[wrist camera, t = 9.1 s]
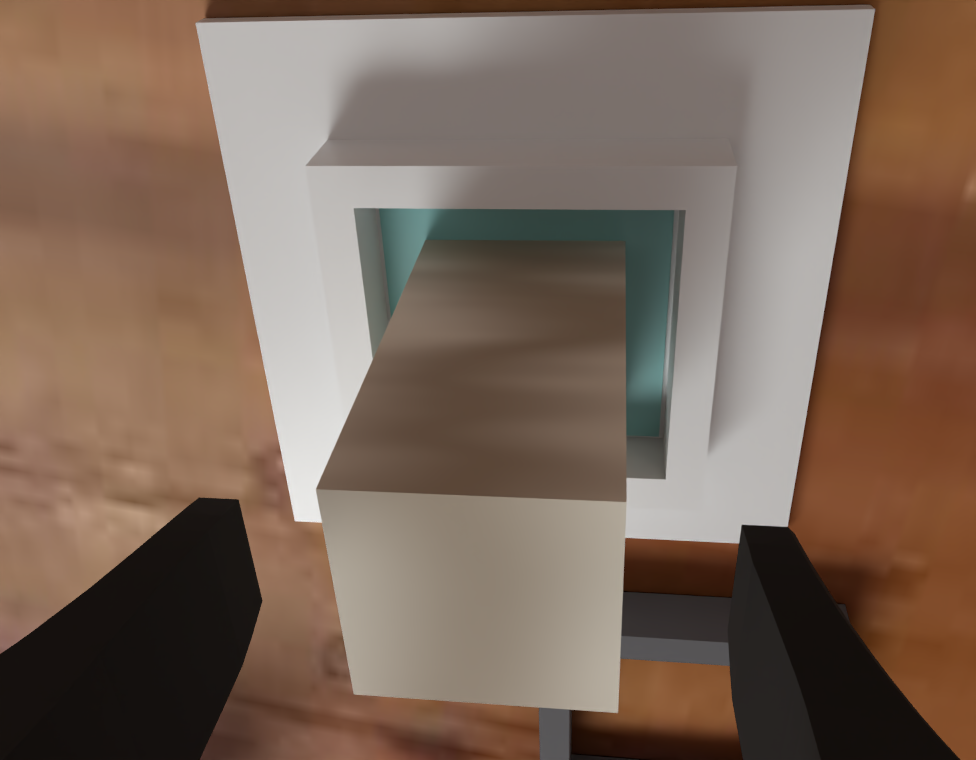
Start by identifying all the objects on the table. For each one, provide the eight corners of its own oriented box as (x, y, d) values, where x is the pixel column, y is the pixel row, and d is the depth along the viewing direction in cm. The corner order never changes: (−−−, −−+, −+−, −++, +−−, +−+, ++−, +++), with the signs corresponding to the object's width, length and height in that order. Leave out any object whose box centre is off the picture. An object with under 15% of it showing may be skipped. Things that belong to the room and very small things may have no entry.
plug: (625, 241, 18) (627, 502, 12) (619, 409, 20) (617, 712, 14) (425, 240, 19) (315, 489, 12) (440, 404, 21) (354, 693, 14)
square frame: (845, 604, 23) (857, 650, 22) (802, 789, 27) (811, 838, 26) (542, 587, 24) (537, 630, 23) (544, 768, 28) (541, 814, 27)
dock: (870, 4, 16) (897, 27, 14) (781, 534, 22) (793, 591, 21) (203, 18, 17) (162, 41, 16) (299, 510, 24) (276, 562, 22)
